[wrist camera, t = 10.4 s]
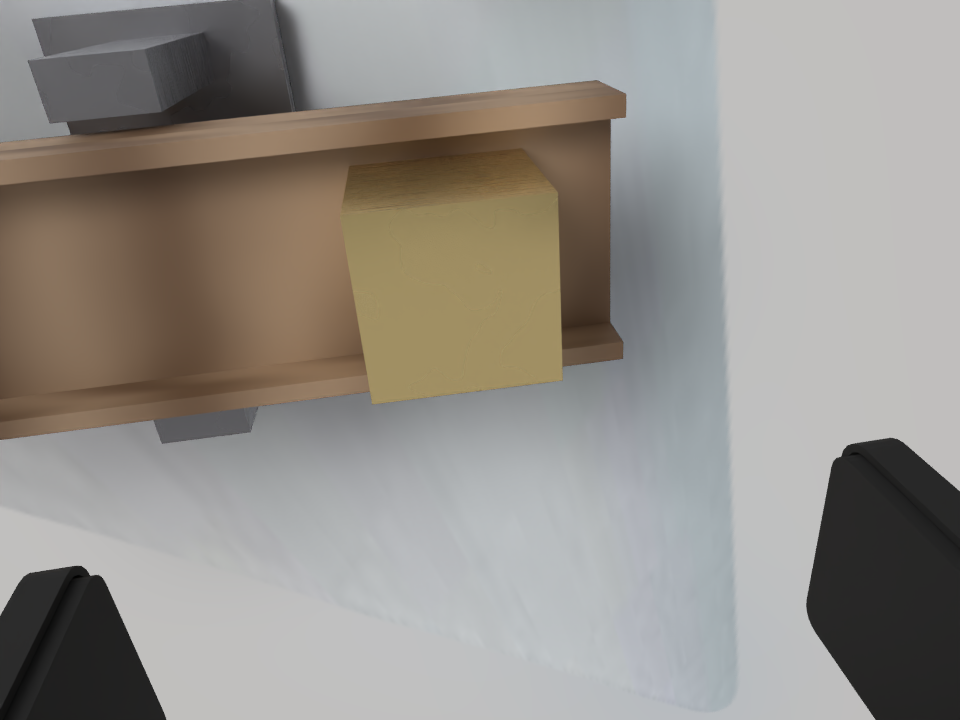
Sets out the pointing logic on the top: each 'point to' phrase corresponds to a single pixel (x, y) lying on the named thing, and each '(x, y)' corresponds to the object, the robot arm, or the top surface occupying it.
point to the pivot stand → (165, 93)
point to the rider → (454, 273)
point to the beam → (251, 251)
